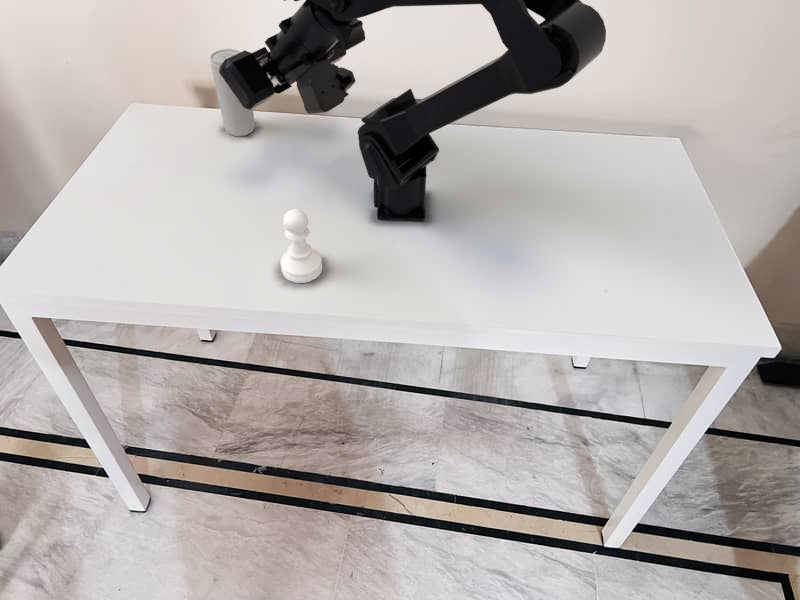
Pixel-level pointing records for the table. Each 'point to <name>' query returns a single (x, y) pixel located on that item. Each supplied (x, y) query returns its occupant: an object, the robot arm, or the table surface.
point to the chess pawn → (299, 250)
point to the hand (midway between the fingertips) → (261, 87)
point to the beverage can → (230, 99)
